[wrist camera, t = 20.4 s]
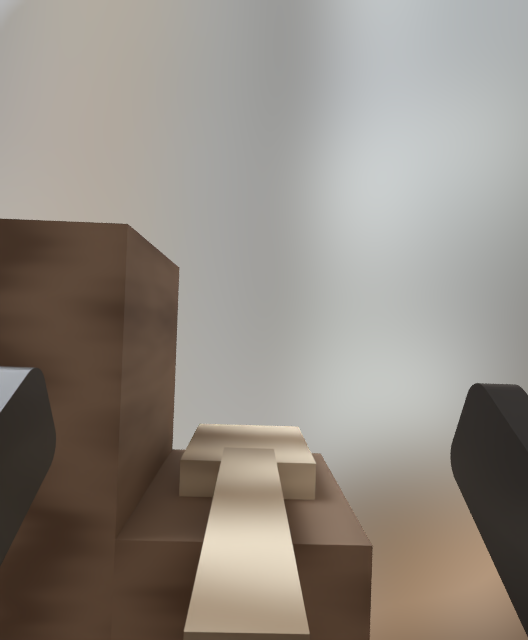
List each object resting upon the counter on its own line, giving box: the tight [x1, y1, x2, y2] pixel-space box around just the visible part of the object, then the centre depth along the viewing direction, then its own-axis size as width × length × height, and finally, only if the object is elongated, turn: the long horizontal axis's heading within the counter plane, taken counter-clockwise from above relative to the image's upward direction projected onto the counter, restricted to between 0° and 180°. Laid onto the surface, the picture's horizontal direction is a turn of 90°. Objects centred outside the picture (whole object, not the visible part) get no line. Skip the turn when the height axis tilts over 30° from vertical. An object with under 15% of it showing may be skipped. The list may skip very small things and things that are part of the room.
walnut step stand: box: [0, 219, 372, 640], centre depth 23 cm, size 18×12×32 cm
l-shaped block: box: [179, 424, 316, 640], centre depth 19 cm, size 21×6×2 cm, turn 2°
